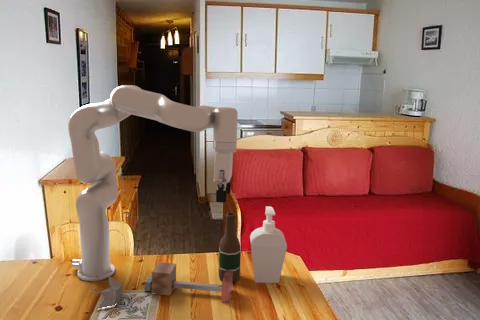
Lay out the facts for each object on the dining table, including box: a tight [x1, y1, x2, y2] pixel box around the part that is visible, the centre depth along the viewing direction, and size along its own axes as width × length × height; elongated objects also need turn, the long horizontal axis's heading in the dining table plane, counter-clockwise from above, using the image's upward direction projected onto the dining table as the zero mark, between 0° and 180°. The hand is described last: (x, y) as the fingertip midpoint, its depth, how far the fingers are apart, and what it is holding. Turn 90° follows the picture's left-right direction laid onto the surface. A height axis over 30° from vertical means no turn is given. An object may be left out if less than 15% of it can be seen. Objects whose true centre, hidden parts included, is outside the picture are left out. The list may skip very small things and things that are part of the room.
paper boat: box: [92, 275, 124, 310], centre depth 124 cm, size 12×6×9 cm
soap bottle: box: [249, 205, 288, 284], centre depth 141 cm, size 12×10×26 cm
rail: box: [143, 270, 233, 304], centre depth 131 cm, size 28×8×7 cm, turn 84°
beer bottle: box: [218, 212, 242, 283], centre depth 140 cm, size 8×8×24 cm
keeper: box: [151, 261, 177, 296], centre depth 132 cm, size 6×7×8 cm
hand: (223, 197), depth 131 cm, fingers open, 9 cm apart
